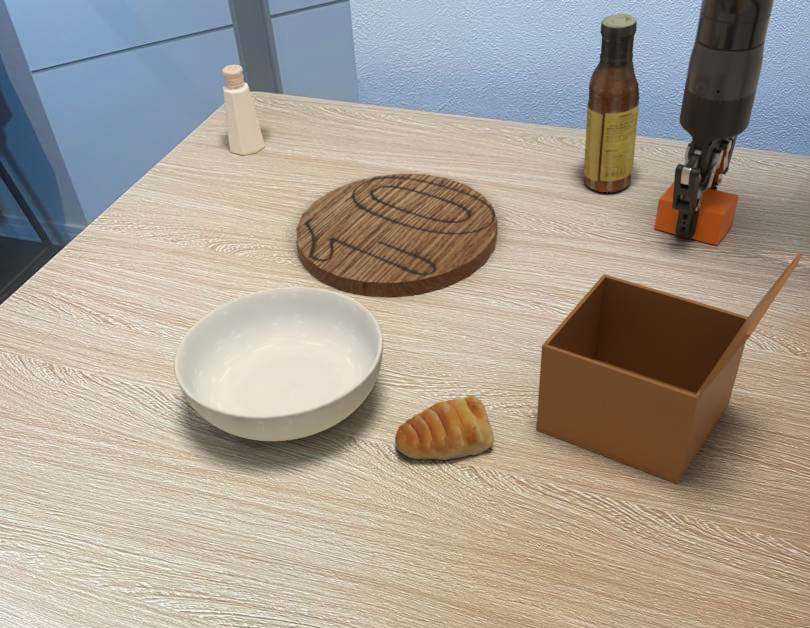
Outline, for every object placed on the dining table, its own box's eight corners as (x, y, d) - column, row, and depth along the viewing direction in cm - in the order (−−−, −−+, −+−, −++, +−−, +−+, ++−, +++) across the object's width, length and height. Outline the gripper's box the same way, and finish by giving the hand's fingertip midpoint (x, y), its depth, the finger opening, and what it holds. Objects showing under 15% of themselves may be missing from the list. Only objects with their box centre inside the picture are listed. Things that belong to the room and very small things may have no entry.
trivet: (432, 319, 103) (431, 305, 102) (258, 263, 113) (255, 250, 111) (532, 213, 116) (532, 199, 115) (368, 171, 126) (367, 158, 125)
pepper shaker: (224, 155, 132) (206, 76, 123) (234, 137, 135) (218, 59, 127) (260, 156, 131) (245, 76, 122) (270, 138, 134) (256, 59, 126)
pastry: (408, 476, 87) (405, 447, 85) (386, 432, 92) (383, 403, 89) (499, 451, 89) (499, 421, 86) (474, 408, 93) (474, 379, 90)
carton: (728, 404, 91) (752, 317, 83) (677, 484, 85) (698, 398, 77) (593, 358, 97) (603, 273, 89) (536, 430, 91) (541, 345, 83)
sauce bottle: (638, 177, 121) (661, 14, 106) (618, 199, 117) (639, 34, 102) (592, 166, 123) (608, 6, 108) (572, 188, 120) (585, 25, 105)
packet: (732, 225, 112) (739, 195, 109) (716, 245, 109) (723, 215, 106) (670, 209, 115) (675, 179, 112) (654, 228, 112) (658, 198, 109)
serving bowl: (299, 314, 105) (290, 261, 100) (429, 393, 95) (426, 339, 90) (150, 404, 97) (131, 351, 91) (274, 502, 86) (262, 449, 81)
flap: (752, 310, 83) (756, 313, 83) (698, 390, 76) (702, 393, 76) (800, 251, 77) (804, 254, 77) (745, 333, 70) (750, 335, 70)
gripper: (730, 116, 94) (700, 262, 107) (778, 62, 101) (744, 204, 114) (661, 102, 97) (640, 245, 110) (713, 50, 104) (687, 190, 117)
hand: (693, 224), depth 112 cm, fingers closed on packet, 5 cm apart
